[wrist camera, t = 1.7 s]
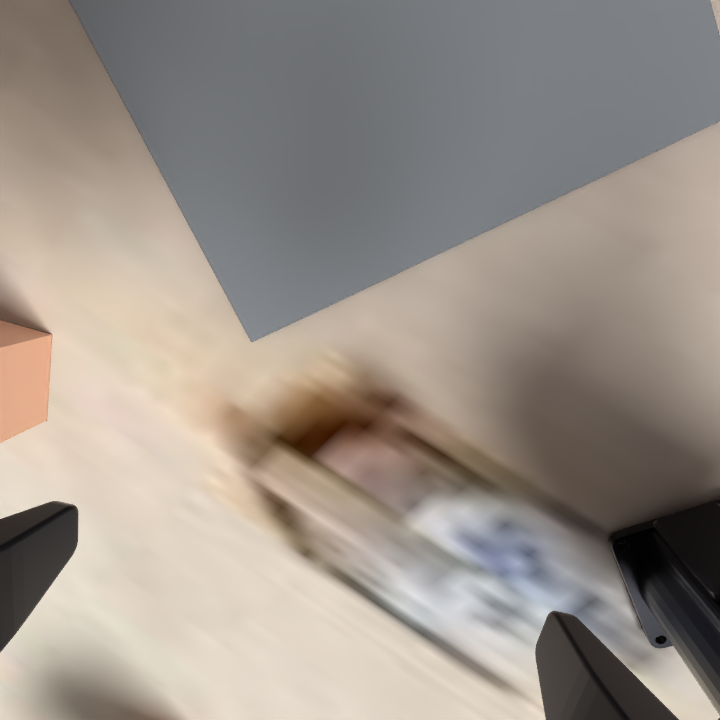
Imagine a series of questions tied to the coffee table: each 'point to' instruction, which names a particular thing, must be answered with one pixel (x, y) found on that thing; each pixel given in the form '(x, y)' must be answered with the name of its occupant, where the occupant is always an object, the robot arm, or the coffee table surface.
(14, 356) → the block
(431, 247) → the mat
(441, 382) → the coffee table surface
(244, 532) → the coffee table surface
